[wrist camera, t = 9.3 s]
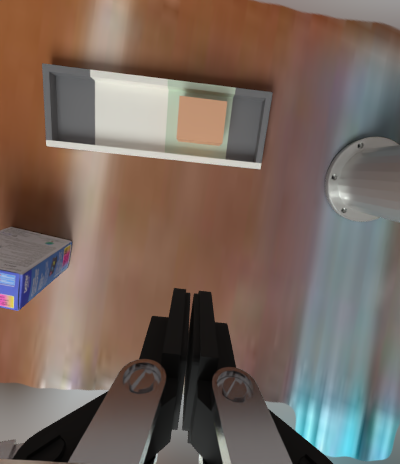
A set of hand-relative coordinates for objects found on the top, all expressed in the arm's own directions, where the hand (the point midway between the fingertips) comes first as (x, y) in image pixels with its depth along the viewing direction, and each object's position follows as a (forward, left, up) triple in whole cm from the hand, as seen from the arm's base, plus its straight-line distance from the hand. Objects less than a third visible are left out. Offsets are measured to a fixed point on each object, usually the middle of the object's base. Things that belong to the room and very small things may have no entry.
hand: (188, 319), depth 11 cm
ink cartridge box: (+24, +9, -29) cm, 38 cm away
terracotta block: (0, -12, -28) cm, 31 cm away
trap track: (+6, -12, -29) cm, 32 cm away
